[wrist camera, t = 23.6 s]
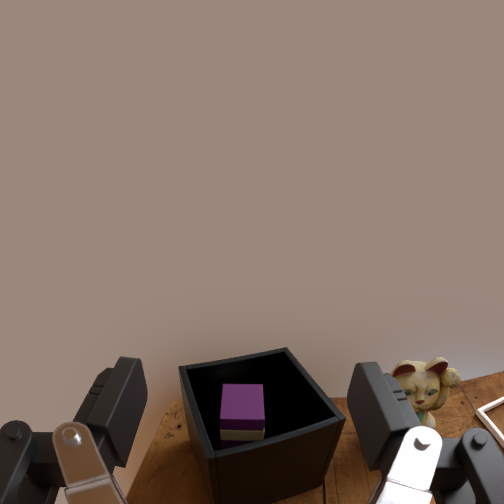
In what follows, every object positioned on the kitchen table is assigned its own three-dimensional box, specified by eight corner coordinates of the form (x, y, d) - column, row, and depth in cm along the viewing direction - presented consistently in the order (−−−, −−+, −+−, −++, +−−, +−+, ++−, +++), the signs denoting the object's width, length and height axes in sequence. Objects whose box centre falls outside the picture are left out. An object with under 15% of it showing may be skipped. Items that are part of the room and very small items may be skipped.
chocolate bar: (260, 477, 29) (265, 419, 25) (223, 477, 29) (219, 418, 25) (258, 445, 34) (263, 383, 30) (225, 445, 34) (222, 383, 30)
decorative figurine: (361, 464, 30) (398, 377, 26) (353, 419, 38) (379, 332, 34) (428, 456, 29) (476, 370, 25) (414, 415, 37) (448, 331, 33)
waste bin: (216, 517, 24) (207, 459, 20) (189, 439, 35) (178, 366, 31) (321, 485, 28) (346, 417, 24) (278, 419, 39) (286, 346, 35)
